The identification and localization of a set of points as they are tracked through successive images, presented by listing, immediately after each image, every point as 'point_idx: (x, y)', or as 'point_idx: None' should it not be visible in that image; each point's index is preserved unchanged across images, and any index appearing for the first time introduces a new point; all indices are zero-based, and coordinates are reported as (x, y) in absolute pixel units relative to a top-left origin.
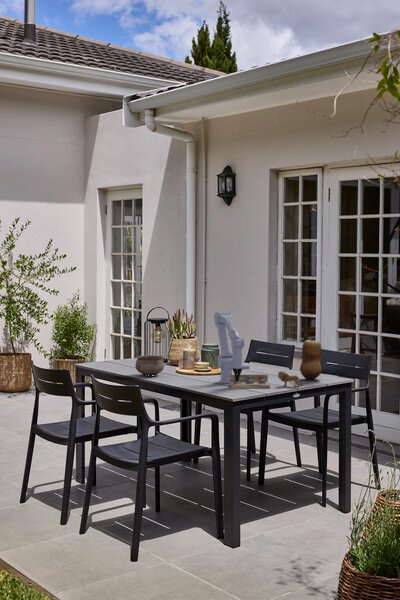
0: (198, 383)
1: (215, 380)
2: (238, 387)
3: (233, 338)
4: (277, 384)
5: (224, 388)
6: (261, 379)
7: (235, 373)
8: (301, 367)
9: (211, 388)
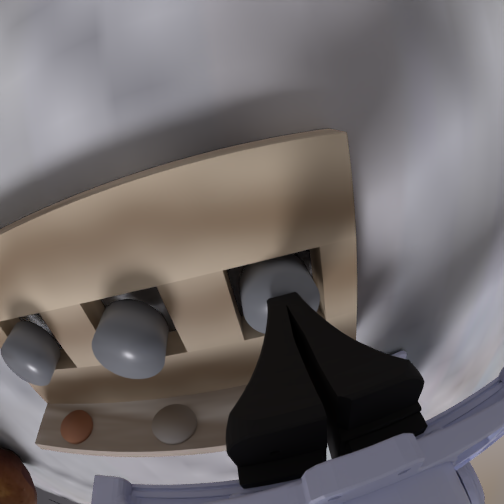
0: (500, 307)
1: None
2: (240, 145)
3: None
4: (15, 387)
5: (398, 115)
6: (42, 383)
7: (353, 353)
8: (11, 490)
9: (485, 118)
